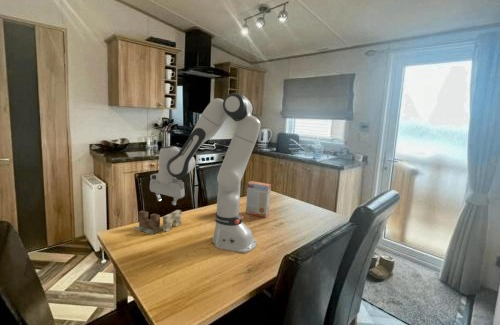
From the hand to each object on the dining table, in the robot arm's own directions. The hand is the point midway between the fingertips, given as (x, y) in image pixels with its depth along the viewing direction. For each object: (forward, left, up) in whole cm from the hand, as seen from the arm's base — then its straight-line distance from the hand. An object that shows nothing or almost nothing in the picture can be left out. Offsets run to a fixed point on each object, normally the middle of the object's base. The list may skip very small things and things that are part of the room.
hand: (166, 202), depth 140 cm
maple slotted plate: (0, -4, -15) cm, 16 cm away
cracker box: (-33, -47, -15) cm, 60 cm away
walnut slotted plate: (+8, +4, -15) cm, 17 cm away
